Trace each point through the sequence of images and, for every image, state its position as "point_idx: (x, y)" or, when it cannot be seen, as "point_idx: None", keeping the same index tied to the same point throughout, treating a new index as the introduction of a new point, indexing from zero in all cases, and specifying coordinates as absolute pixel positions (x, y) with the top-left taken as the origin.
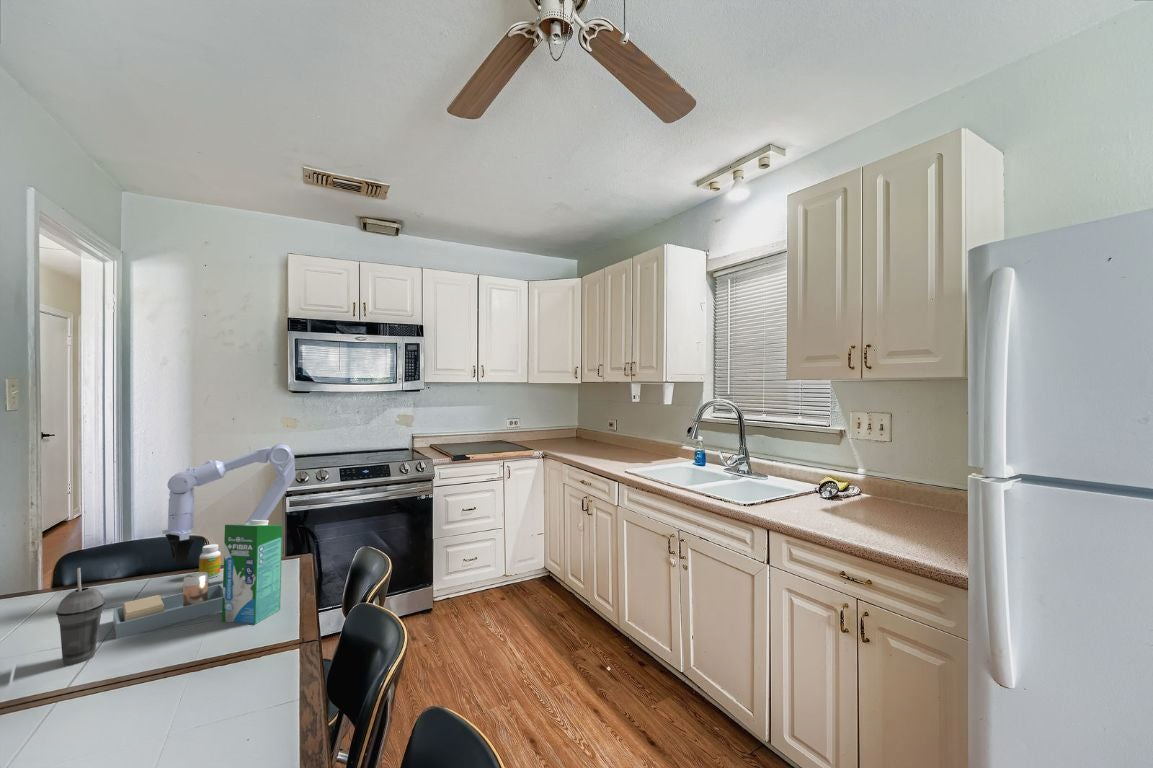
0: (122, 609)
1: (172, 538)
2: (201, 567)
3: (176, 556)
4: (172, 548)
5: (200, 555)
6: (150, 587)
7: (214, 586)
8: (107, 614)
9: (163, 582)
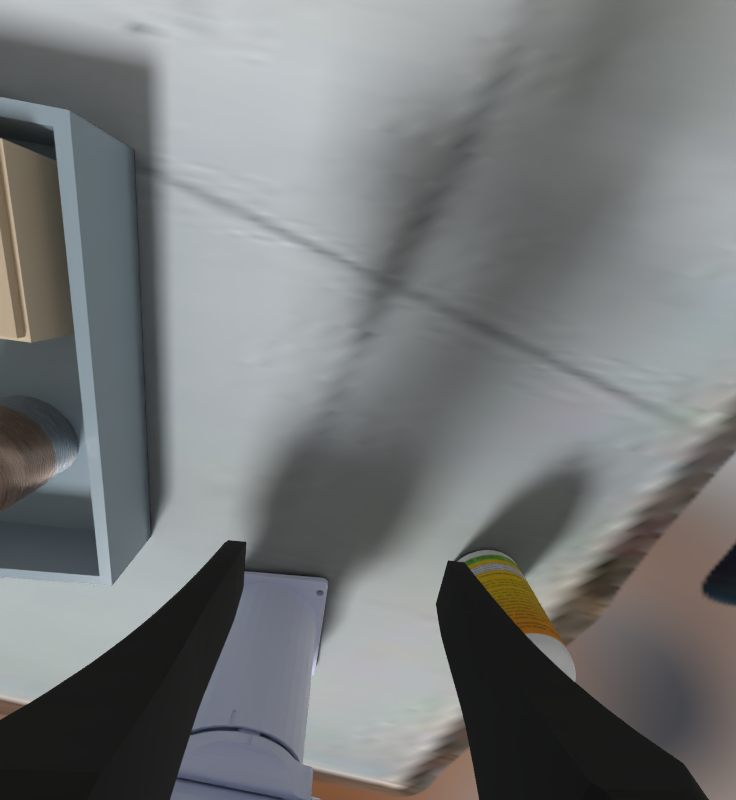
0: (31, 151)
1: (539, 769)
2: (493, 593)
3: (181, 591)
4: (482, 631)
5: (542, 651)
6: (567, 400)
7: (100, 557)
8: (331, 171)
9: (583, 451)
